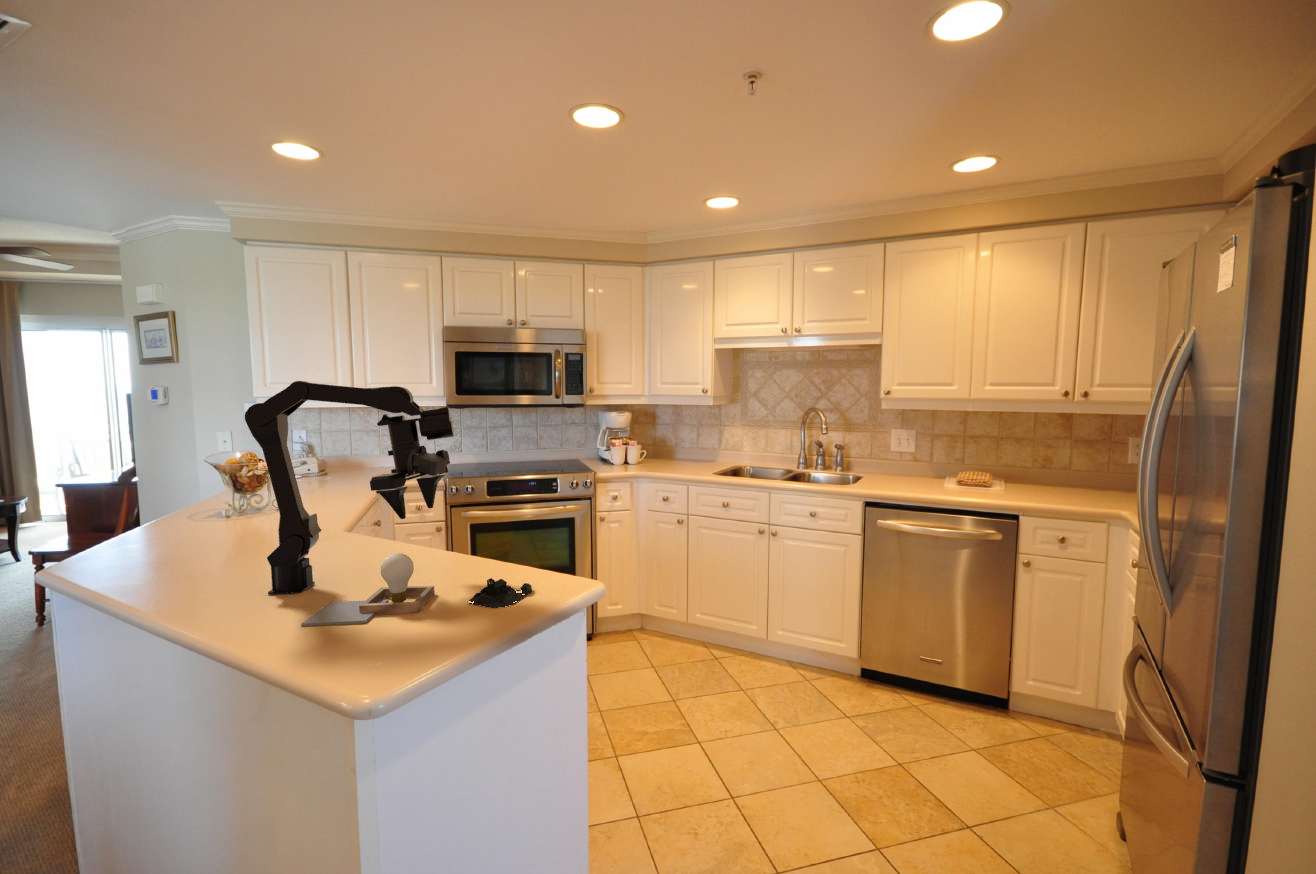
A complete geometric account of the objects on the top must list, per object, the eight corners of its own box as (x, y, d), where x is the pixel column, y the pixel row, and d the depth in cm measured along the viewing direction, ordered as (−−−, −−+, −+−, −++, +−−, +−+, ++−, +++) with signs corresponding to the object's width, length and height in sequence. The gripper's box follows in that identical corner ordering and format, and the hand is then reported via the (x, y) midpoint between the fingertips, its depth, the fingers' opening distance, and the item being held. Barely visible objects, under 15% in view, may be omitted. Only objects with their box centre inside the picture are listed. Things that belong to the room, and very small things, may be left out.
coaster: (301, 626, 105) (301, 623, 105) (330, 604, 116) (330, 601, 116) (365, 623, 106) (365, 620, 106) (388, 602, 117) (388, 599, 117)
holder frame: (359, 615, 110) (359, 605, 110) (381, 596, 120) (380, 587, 120) (418, 612, 111) (417, 603, 110) (434, 594, 121) (434, 585, 121)
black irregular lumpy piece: (507, 612, 112) (506, 586, 111) (461, 607, 114) (460, 582, 114) (537, 591, 123) (536, 568, 123) (495, 588, 126) (494, 565, 126)
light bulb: (422, 601, 117) (419, 551, 116) (397, 611, 112) (395, 559, 111) (400, 597, 119) (398, 548, 119) (375, 607, 114) (372, 555, 113)
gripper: (407, 446, 118) (420, 522, 120) (462, 434, 136) (473, 501, 138) (361, 451, 122) (375, 525, 123) (421, 439, 139) (432, 504, 141)
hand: (417, 513), depth 131 cm, fingers open, 9 cm apart
